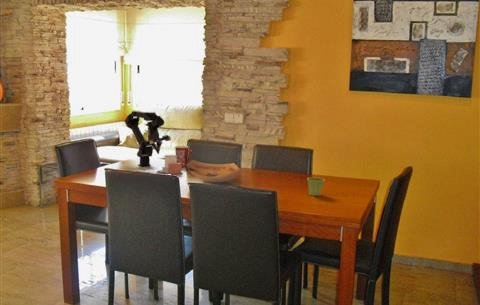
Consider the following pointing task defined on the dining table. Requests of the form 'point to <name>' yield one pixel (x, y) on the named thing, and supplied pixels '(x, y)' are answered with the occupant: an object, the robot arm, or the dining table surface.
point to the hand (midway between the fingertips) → (158, 153)
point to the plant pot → (315, 186)
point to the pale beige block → (170, 160)
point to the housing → (172, 169)
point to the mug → (182, 155)
